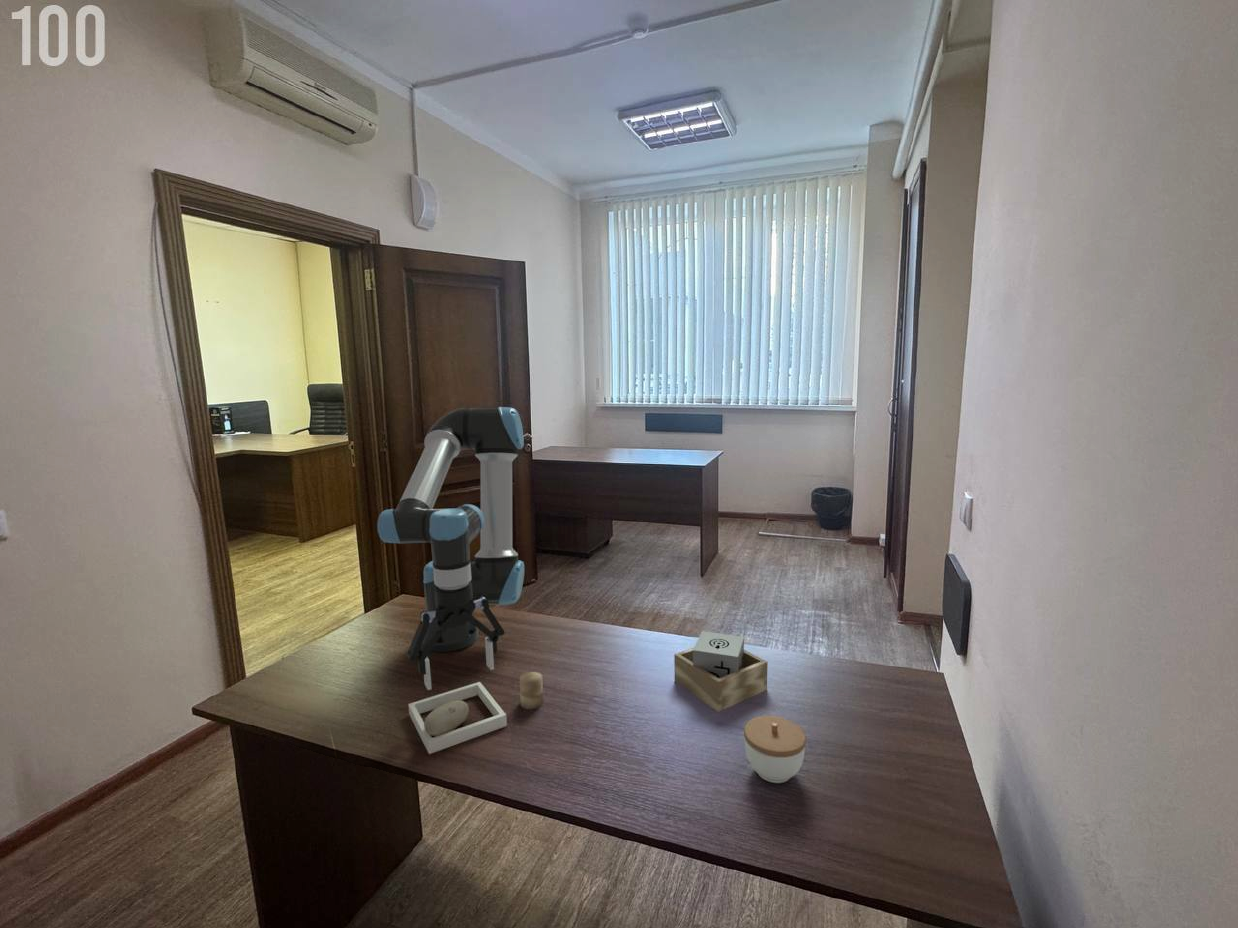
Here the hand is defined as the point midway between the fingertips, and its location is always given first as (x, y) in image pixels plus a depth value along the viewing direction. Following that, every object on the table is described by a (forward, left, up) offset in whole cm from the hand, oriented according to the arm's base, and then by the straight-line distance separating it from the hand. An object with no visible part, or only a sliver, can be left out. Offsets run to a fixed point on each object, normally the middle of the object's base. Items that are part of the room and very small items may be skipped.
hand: (460, 676), depth 123 cm
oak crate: (-53, +24, -8) cm, 59 cm away
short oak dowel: (-14, +5, -9) cm, 17 cm away
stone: (+1, +1, -8) cm, 8 cm away
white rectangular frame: (+2, +2, -8) cm, 9 cm away
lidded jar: (-41, +51, -9) cm, 66 cm away
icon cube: (-53, +24, -8) cm, 59 cm away
